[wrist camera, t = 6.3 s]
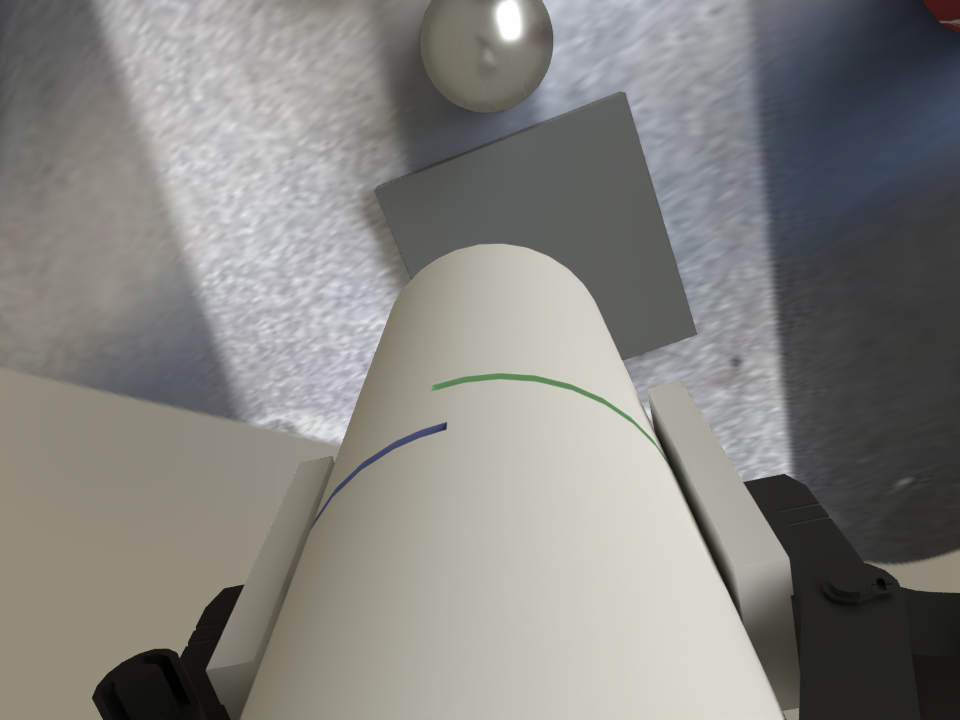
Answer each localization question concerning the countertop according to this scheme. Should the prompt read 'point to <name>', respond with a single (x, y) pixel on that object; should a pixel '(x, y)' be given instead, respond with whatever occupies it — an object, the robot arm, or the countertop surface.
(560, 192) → the plate
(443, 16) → the grey metal tin
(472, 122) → the countertop surface
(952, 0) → the smoothie
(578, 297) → the cylindrical container
